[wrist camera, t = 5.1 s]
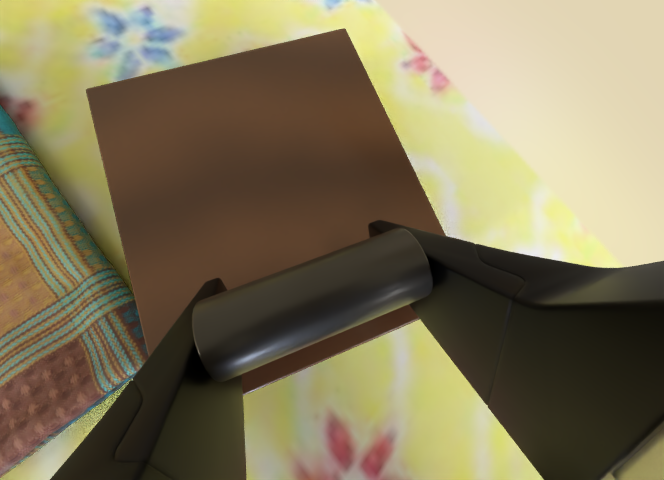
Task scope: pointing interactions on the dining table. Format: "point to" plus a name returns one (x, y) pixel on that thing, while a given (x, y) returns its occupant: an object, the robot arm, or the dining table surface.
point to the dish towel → (54, 310)
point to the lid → (264, 205)
